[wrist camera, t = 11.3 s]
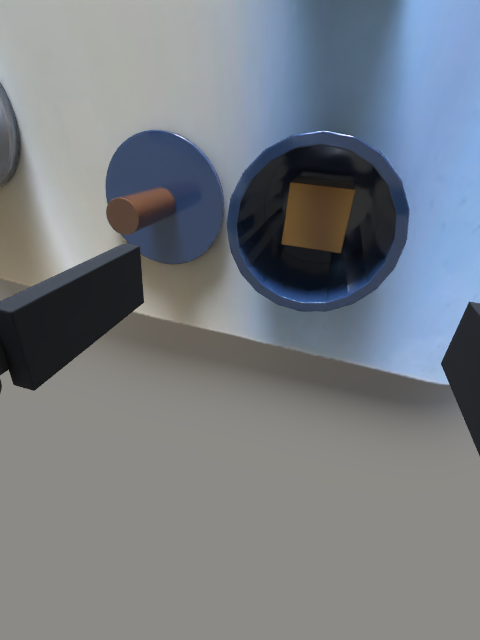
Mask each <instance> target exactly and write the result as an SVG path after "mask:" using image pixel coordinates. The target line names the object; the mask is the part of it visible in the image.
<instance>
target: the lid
mask: <svg viewBox="0 0 480 640" xmlns="http://www.w3.org/2000/svg"><path fill="white" fill-rule="evenodd" d="M106 197H107V203H108V206H107V210H106V214H107V219H108V221H109V223H110V225H111V226H112V228H113V229H114V230H115V231H117V232H118V233H120V234H121V235H122V236H123V237H124V239H125V240H126V241H127V242H128V243H129V244H131V245H137V246H140V253H141V254H142V255H144V256H145V257H147V258H149V259H151V260H154V261H157V262H160V263H165V264H181V263H186V262H189V261H192V260H194V259H196V258H198V257H199V256H201V255H202V254H203V253H205V252H206V251H207V250H208V249H209V248H210V247H211V245H212V244H213V243H214V241H215V240H216V238H217V236H218V234H219V231H220V229H221V226H222V222H223V216H224V198H223V191H222V187H221V183H220V181H219V178H218V175H217V173H216V171H215V169H214V167H213V165H212V164H211V162H210V161H209V159H208V158H207V157H206V156H205V154H204V153H203V152H202V151H201V150H200V149H199V148H198V147H197V146H196V145H195V144H193V143H192V142H190V141H189V140H188V139H186V138H184V137H182V136H180V135H178V134H175V133H172V132H168V131H162V130H150V131H144V132H141V133H138V134H135V135H133V136H132V137H130V138H128V139H127V140H126V141H125V142H123V143H122V144H121V146H120V147H119V148H118V149H117V150H116V152H115V154H114V155H113V157H112V159H111V161H110V164H109V167H108V171H107V176H106Z"/></svg>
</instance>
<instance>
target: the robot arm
mask: <svg viewBox="0 0 480 640" xmlns="http://www.w3.org/2000/svg"><path fill="white" fill-rule="evenodd" d="M18 158H19V133H18V127H17V122H16V118H15V114H14V111H13V108H12V106H11V103H10V101H9V98H8V96H7V94H6V92H5V90H4V88H3V86H2V84H1V83H0V186H2V185H4V184H5V183H6V182H7V181H8V180H9V179H10V178H11V177H12V175H13V173H14V171H15V169H16V166H17V163H18ZM143 303H144V297H143V283H142V269H141V255H140V246H137V245H131V244H125V243H124V244H122V245H120V246H117V247H115V248H113V249H111V250H109V251H107V252H105V253H102V254H100V255H98V256H96V257H94V258H92V259H90V260H87V261H85V262H83V263H81V264H79V265H77V266H75V267H73V268H70V269H68V270H66V271H64V272H62V273H60V274H58V275H55V276H53V277H51V278H49V279H47V280H45V281H43V282H41V283H38V284H36V285H34V286H32V287H30V288H28V289H26V290H23V291H21V292H19V293H17V294H15V295H13V296H11V297H8V298H6V299H4V300H2V301H0V375H1V374H3V373H4V372H6V371H7V370H9V372H10V375H11V378H12V381H13V384H14V385H16V386H20V387H23V388H27V389H30V390H36V389H37V388H38V387H39V386H41V385H42V384H43V383H44V382H46V381H47V380H48V379H49V378H51V377H52V376H53V375H54V374H56V373H57V372H58V371H59V370H61V369H62V368H63V367H64V366H66V365H67V364H68V363H69V362H70V361H72V360H73V359H74V358H75V357H77V356H78V355H79V354H80V353H82V352H83V351H84V350H85V349H87V348H88V347H89V346H90V345H92V344H93V343H94V342H95V341H96V340H98V339H99V338H100V337H101V336H103V335H104V334H105V333H107V332H108V331H109V330H110V329H111V328H113V327H114V326H115V325H116V324H118V323H119V322H120V321H121V320H123V319H124V318H125V317H126V316H128V315H129V314H130V313H131V312H133V311H134V310H135V309H136V308H138V307H139V306H140V305H141V304H143ZM441 365H442V367H443V370H444V372H445V374H446V377H447V379H448V381H449V384H450V386H451V389H452V391H453V393H454V396H455V398H456V401H457V403H458V405H459V408H460V410H461V412H462V415H463V417H464V420H465V422H466V424H467V427H468V429H469V431H470V434H471V436H472V439H473V441H474V443H475V446H476V448H477V451H478V453H479V455H480V303H474V302H469V303H468V306H467V308H466V310H465V312H464V314H463V317H462V319H461V321H460V323H459V325H458V327H457V330H456V332H455V334H454V336H453V338H452V341H451V343H450V345H449V347H448V349H447V352H446V354H445V356H444V358H443V360H442V362H441ZM1 387H2V385H1V380H0V392H1Z"/></svg>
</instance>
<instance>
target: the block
mask: <svg viewBox="0 0 480 640" xmlns="http://www.w3.org/2000/svg"><path fill="white" fill-rule="evenodd" d="M354 195H355V185H354V182H345V181H336V180H327V179H319V178H310V177H301V176H298V177H297V178H295V179H294V180H293V181H291V182H290V186H289V193H288V200H287V208H286V215H285V222H284V229H283V236H282V243H281V244H283V245H289V246H296V247H302V248H309V249H315V250H321V251H328V252H334V253H341V251H342V246H343V242H344V238H345V233H346V229H347V225H348V220H349V216H350V212H351V208H352V203H353V199H354Z"/></svg>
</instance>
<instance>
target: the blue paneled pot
mask: <svg viewBox="0 0 480 640" xmlns="http://www.w3.org/2000/svg"><path fill="white" fill-rule="evenodd" d="M298 176H301V177H310V178H319V179H327V180H336V181H345V182H354V185H355V195H354V199H353V203H352V208H351V212H350V216H349V220H348V225H347V229H346V233H345V238H344V242H343V246H342V251H341V253H334V252H328V251H321V250H315V249H309V248H302V247H296V246H289V245H283V244H281V243H282V236H283V229H284V222H285V215H286V208H287V200H288V193H289V186H290V182H291V181H293V180H294V179H295V178H297V177H298ZM408 222H409V206H408V202H407V199H406V195H405V191H404V187H403V183H402V181H401V179H400V177H399V176H398V175H397V173H396V172H395V170H394V169H393V168H392V166H391V165H390V163H389V162H388V161H387V159H386V158H385V156H384V155H383V154H382V153H380V152H379V151H377V150H376V149H374V148H372V147H371V146H369V145H368V144H366V143H365V142H363V141H362V140H360V139H358V138H357V137H354V136H349V135H344V134H340V133H335V132H330V131H316V132H310V133H303V134H297V135H293V136H290V137H288V138H286V139H284V140H282V141H280V142H278V143H276V144H274V145H273V146H271V147H269V148H267V149H265V150H264V151H263V152H262V153H261V154H260V155H259V156H258V157H257V158H256V159H255V160H254V161H253V162H252V163H251V164H250V165H249V166H248V168H247V169H246V170H245V171H244V172H243V174H242V176H241V178H240V180H239V182H238V184H237V186H236V188H235V190H234V192H233V194H232V196H231V199H230V205H229V212H228V218H227V231H228V238H229V246H230V250H231V253H232V255H233V258H234V260H235V262H236V264H237V266H238V268H239V270H240V272H241V274H242V275H243V276H244V278H245V279H246V280H247V281H248V282H249V283H250V284H251V285H252V287H253V288H254V289H255V290H256V291H257V292H258V293H260V294H261V295H263V296H265V297H266V298H268V299H269V300H271V301H272V302H274V303H276V304H278V305H281V306H284V307H288V308H291V309H294V310H298V311H330V310H333V309H337V308H341V307H344V306H348V305H351V304H353V303H355V302H357V301H358V300H360V299H361V298H363V297H365V296H366V295H368V294H370V293H371V292H373V291H374V290H375V289H377V288H378V287H379V285H380V284H381V283H382V282H383V281H384V280H385V279H386V277H387V276H388V275H389V274H390V273H391V272H392V271H393V270H394V268H395V266H396V264H397V262H398V259H399V257H400V255H401V253H402V250H403V248H404V246H405V244H406V240H407V233H408Z"/></svg>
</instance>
